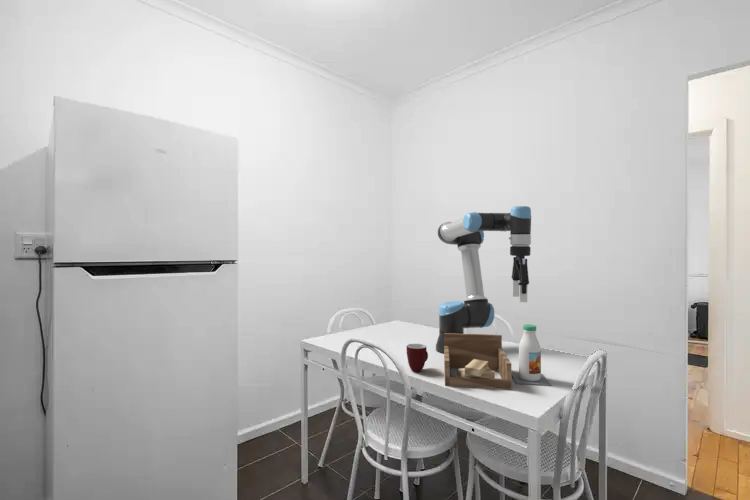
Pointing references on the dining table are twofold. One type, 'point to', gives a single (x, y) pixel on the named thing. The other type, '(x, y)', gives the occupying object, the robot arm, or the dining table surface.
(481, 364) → the offcut top
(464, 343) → the rack
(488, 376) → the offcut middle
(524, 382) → the mat
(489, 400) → the dining table surface
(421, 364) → the mug
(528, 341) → the milk bottle
